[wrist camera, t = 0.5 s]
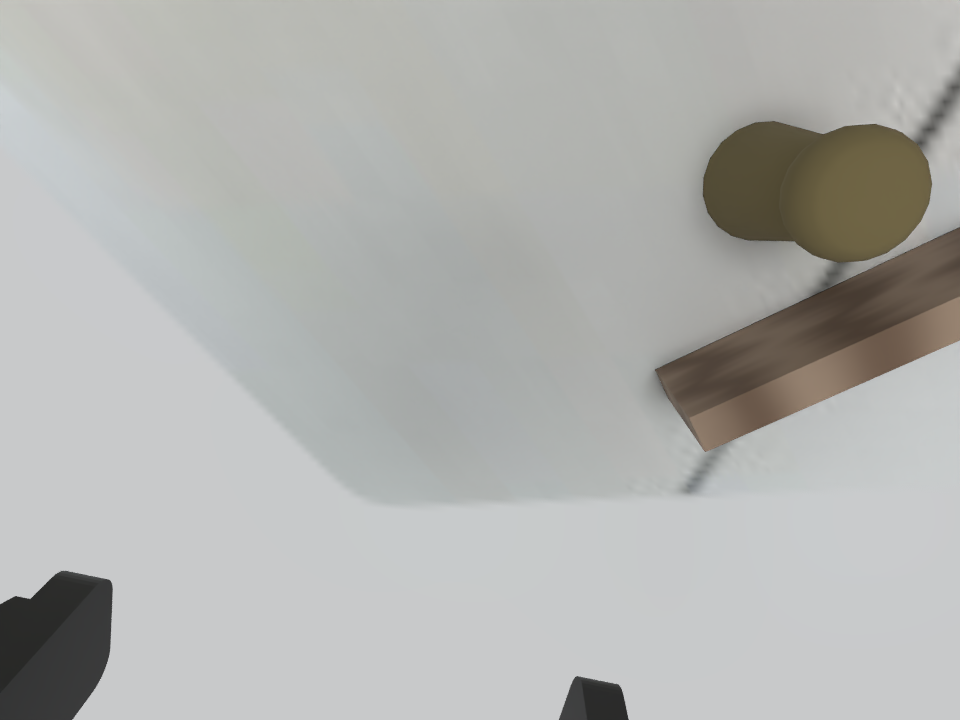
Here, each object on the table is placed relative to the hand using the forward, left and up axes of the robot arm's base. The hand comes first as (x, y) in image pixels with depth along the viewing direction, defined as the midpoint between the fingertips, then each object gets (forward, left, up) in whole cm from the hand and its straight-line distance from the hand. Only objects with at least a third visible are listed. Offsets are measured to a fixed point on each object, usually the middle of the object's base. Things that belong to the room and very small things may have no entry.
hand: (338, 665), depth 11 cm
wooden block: (-9, +18, -27) cm, 34 cm away
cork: (-13, +12, -27) cm, 32 cm away
